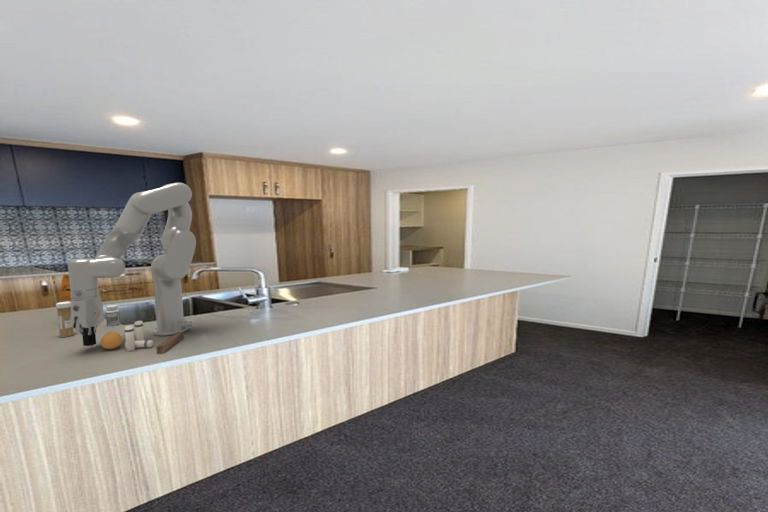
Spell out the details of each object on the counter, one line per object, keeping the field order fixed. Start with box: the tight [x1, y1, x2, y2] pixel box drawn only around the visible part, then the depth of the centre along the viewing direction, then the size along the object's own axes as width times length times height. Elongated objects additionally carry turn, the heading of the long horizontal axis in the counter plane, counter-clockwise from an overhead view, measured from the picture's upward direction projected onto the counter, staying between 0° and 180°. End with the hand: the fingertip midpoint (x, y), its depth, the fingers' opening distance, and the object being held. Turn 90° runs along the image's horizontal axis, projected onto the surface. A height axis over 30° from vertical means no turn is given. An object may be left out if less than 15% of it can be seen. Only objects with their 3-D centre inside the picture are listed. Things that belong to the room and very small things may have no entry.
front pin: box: [124, 339, 154, 349], centre depth 128 cm, size 3×3×8 cm
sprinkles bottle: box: [55, 301, 75, 338], centre depth 142 cm, size 5×5×13 cm
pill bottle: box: [105, 304, 121, 327], centre depth 157 cm, size 5×5×8 cm
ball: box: [100, 331, 123, 350], centre depth 127 cm, size 6×6×6 cm
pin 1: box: [124, 324, 136, 352], centre depth 125 cm, size 3×3×8 cm
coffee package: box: [59, 273, 72, 303], centre depth 162 cm, size 10×12×22 cm
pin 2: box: [133, 320, 145, 341], centre depth 131 cm, size 3×3×8 cm
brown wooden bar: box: [156, 332, 184, 354], centre depth 130 cm, size 2×16×2 cm, turn 7°
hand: (89, 344), depth 127 cm, fingers closed
